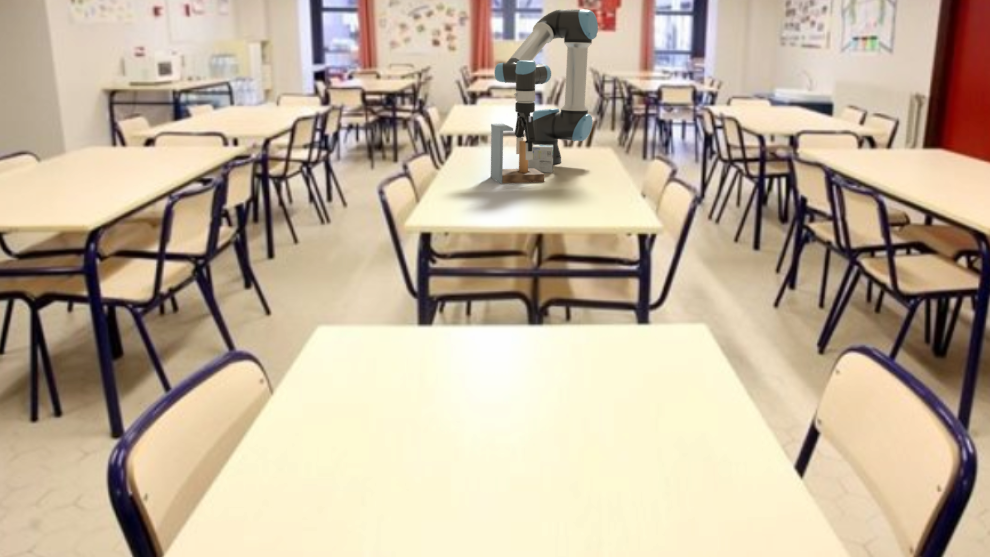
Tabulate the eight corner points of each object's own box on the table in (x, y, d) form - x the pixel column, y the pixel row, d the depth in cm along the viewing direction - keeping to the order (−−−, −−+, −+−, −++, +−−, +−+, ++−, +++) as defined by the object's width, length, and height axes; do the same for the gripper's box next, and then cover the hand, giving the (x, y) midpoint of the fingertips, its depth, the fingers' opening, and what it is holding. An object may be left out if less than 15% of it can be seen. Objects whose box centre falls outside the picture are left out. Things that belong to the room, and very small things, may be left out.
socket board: (534, 175, 338) (534, 168, 337) (544, 181, 325) (544, 174, 324) (493, 176, 334) (493, 169, 333) (502, 183, 321) (502, 175, 320)
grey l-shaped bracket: (502, 176, 335) (503, 123, 329) (512, 183, 321) (513, 128, 315) (490, 176, 334) (491, 123, 328) (499, 183, 320) (500, 128, 314)
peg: (517, 178, 331) (518, 140, 326) (526, 178, 332) (527, 140, 327) (520, 180, 328) (520, 141, 323) (528, 179, 328) (529, 141, 324)
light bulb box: (552, 170, 351) (553, 144, 348) (552, 173, 344) (553, 146, 341) (527, 169, 352) (528, 143, 349) (526, 172, 345) (527, 146, 342)
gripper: (507, 98, 331) (507, 151, 338) (524, 105, 308) (523, 162, 315) (525, 98, 333) (524, 151, 340) (544, 105, 310) (542, 161, 317)
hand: (524, 156), depth 327 cm, fingers open, 13 cm apart
